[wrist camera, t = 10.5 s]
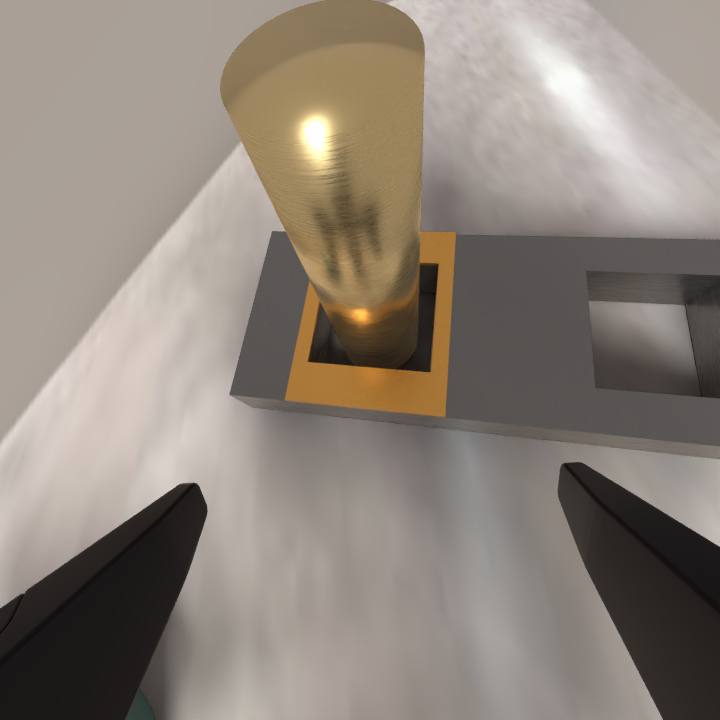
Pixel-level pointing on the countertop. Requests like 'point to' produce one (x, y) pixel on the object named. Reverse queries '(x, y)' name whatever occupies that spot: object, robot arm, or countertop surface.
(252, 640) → the countertop surface
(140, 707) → the bracket
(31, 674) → the robot arm
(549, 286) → the hole rail
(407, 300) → the brass peg
